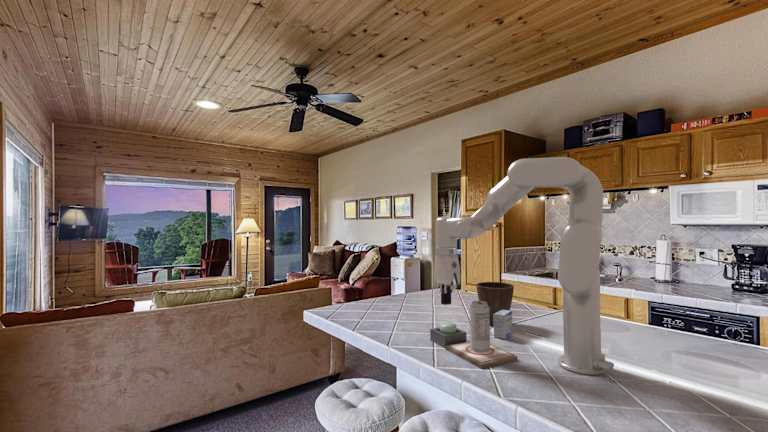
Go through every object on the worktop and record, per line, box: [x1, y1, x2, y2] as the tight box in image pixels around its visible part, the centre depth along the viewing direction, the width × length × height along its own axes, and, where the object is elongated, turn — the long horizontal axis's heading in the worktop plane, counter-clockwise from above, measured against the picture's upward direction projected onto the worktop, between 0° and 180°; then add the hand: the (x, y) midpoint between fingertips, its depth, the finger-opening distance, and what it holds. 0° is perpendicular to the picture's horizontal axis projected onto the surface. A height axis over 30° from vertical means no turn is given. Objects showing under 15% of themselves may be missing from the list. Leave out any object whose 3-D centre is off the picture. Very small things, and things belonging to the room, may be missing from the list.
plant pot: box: [476, 281, 515, 327], centre depth 150 cm, size 15×15×16 cm
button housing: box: [429, 326, 468, 348], centre depth 129 cm, size 9×9×4 cm
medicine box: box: [493, 310, 513, 340], centre depth 135 cm, size 8×4×9 cm, turn 143°
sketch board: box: [445, 340, 518, 369], centre depth 117 cm, size 18×14×2 cm
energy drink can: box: [469, 300, 491, 352], centre depth 117 cm, size 6×6×15 cm
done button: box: [439, 322, 457, 334], centre depth 129 cm, size 6×6×3 cm
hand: (446, 303), depth 129 cm, fingers closed
